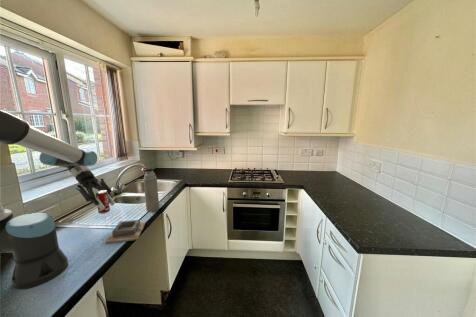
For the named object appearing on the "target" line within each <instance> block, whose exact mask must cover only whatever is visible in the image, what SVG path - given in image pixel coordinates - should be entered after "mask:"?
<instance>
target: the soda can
mask: <svg viewBox="0 0 476 317" xmlns="http://www.w3.org/2000/svg"><path fill="white" fill-rule="evenodd" d="M95 193H96V194H95V197H96V198H98V199H99V200H100V201H101V202H102V204H103V205H104V206H105V208H104V209H103V210H101V209H100V208H99V207H98V205H97V211H98V214H99V215H105V214H108V213H110V211H111V207H110V206H111V205H110V203H109V198H108V192H107V190H100V191H99V190H97V191H96V192H95Z"/></svg>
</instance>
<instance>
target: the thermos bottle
mask: <svg viewBox="0 0 476 317" xmlns="http://www.w3.org/2000/svg"><path fill="white" fill-rule="evenodd" d="M143 188H144V196H145V198H144V199H145V207H146V208H145V209H146V211H147V212H149V211H152V212H156V211H158V210H159V209H160V202H159V190H158V189H159V188H158V177H157V175H156V173H155V172H154V168H146V169H145V174H144V176H143Z"/></svg>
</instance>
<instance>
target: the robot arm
mask: <svg viewBox="0 0 476 317" xmlns="http://www.w3.org/2000/svg"><path fill="white" fill-rule="evenodd" d="M0 143H2V144H4V145H5V144H6V145H9V146H10V145H19V146H20V147H24V148H27V149H30V150H33V151H35V152H39V153H40V155H39V162H40V163H41V164H43V165H46V166H51V167H52V166H54V167H59V168H61V167H62V168H66V169H67V170H68V171H69V172H70V173H71V175H72V177H74V178H75V180H76V182H78V184H77V186H75V189H76V191H78V192H79V193H80V194H81V196H82V197H83V199H84V200H85V201H86V202H88V203H89V202H91V203H93V204H94V205H95V206H97V205H98V206H97V208H98V207H99V208H100V209H101V210H103V209H104V208H105V206H104V205H103V204H102V202H101V201H100V200H99V199H98V198H96V194H95V192H94V190H93V189H95V190H97V191H100V190H107V192H108V198H109V205H110V206H111V207H113V206H114V205H115V204H116V201H115V200H114V199H113V198H114V197H113V196H112V195H111V193H112V191H113V190H112V189H111V187H110V186H108V184H107V183H106V182H105V180H104V178H100V179H98V178H96V176H95V174H94V173H93V172H92V171H91V170H90V168H89V166H91V167H92V166H95V165H96V163H97V162H98V154H97V153H96V152H95V151H93V150H92V151H91V150H84V149H81V148H79V147H77V146H74V145H72V144H70V143H68V142H66V141H64V140H61V139H59V138H57V137H55V136H52V135H50V134H48V133H45V132H44V131H42V130H40V129H38V128H35V127H33V126H31V125H30V123H29V122H28V121H27V120H25V119H22V118H20V117H18V116H16V115H14V114H12V113H9V112H7V111H4V110H2V109H0ZM56 228H57V227H56V223H55V221H54V218H53V216H52V215H51V214H49V213H45V212H32V213H25V214H22V215H21V214H20V215H18V216H14V214H13V211H12V210H11V209H7V208H4V206H3V204H2V202H1V201H0V254H7V253H8V254H9V253H11V254H12V255H13V259H14V267H13V271H12V276H11V283H12V287H13V288H15V289H17V290H26V289H30V288H34V287H37V286H40V285H42V284H43V285H44V284H45V283H47V282H49V281H50V280H52V279H54V278H56V277H57V276H60V274H61V273H62V272H64V271H65V269H66V268H67V267H68V265H69V261H68V257H67V255H66V254H65V253H64V252H63V251H62V249H61V248H60V245H59V241H58V234H57V229H56Z"/></svg>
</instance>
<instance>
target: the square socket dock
mask: <svg viewBox="0 0 476 317" xmlns="http://www.w3.org/2000/svg"><path fill="white" fill-rule="evenodd" d="M145 225H146V221H141V220H140V219H134V220H123V221H119V223H117V225H116V226H115V228H113V230H112V231H111V232H112V233H111V234H110V235H109V236H108V238H107V239H106V240H105V244H113V243H112V242H115V243H121V242H120V241H124V242H129V241H132V242H133V241H138V239H139V237H140V235H141V234H142V231H143V229H144V228H145Z"/></svg>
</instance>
